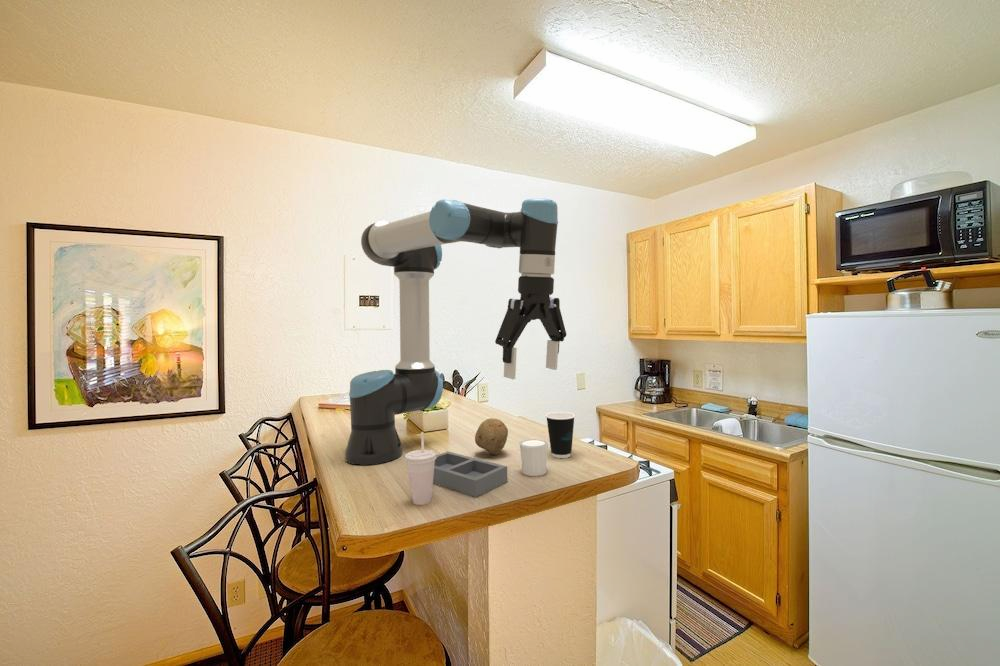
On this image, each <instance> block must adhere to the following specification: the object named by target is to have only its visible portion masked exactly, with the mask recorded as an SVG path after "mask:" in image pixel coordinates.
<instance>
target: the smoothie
mask: <svg viewBox="0 0 1000 666" xmlns="http://www.w3.org/2000/svg"><path fill="white" fill-rule="evenodd" d="M424 435H425V434H424V431H421V432H420V444H421V449H416V450H413V451H409V452H407V453H405V454H404V461H405V463H406V466H407V472H408V478H409V480H408V481H409V485H410V491H411V492H410V493H411V497H412V498H411V499H412V503H413V504H414V505H417V506H424V505H427V504H430V503H431V502H432V497H433V488H434V487H433V486H434V483H433V476H434V466H435V459H436V458H437V457H436V455H437V452H436V451H435V450H433V449H425V438H424V437H425V436H424Z"/></svg>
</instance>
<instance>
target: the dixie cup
mask: <svg viewBox="0 0 1000 666" xmlns="http://www.w3.org/2000/svg"><path fill="white" fill-rule="evenodd" d="M575 417H576V415H575V414H574V413H573V412H567V411H553V412H548V413H546V414H545V418H546V423H547V432H548V440H549V445H550V452H551V455H552V457H553V458H555V457H556V458H555V459H560V458H563V459H569V458H570V457H571V453H572V452H573V451H572V450H573V449H572V448H573V438H574V437H573V436H574V425H575V424H574V423H575ZM568 457H569V458H568Z"/></svg>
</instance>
